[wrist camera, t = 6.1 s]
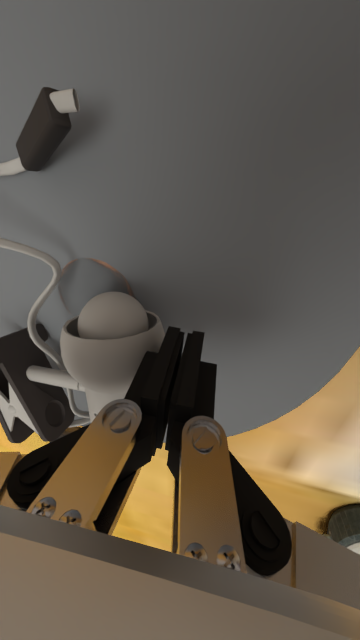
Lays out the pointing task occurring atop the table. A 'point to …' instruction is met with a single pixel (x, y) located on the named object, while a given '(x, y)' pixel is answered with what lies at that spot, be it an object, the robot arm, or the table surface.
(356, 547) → the communication device
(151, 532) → the table surface
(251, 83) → the mat
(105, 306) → the clip-on lamp
